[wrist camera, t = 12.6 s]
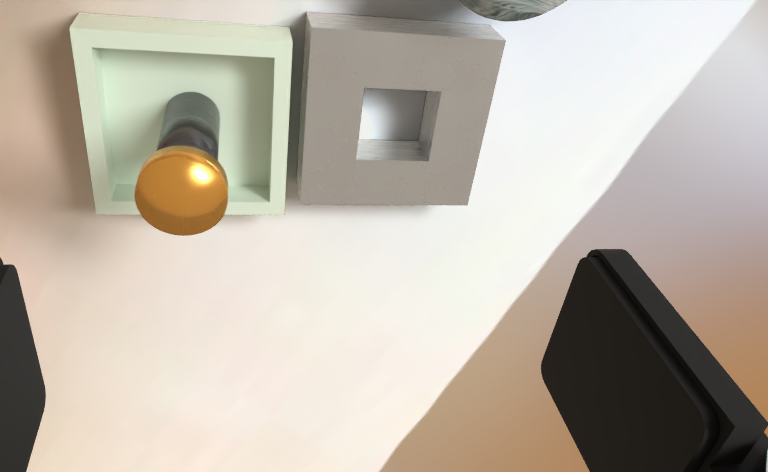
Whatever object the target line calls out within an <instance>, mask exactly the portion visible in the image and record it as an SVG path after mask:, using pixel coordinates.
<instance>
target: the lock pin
mask: <svg viewBox="0 0 768 472" xmlns="http://www.w3.org/2000/svg"><path fill="white" fill-rule="evenodd" d="M219 131H220V113H219V110H218V108H217V106H216V104H215V103H214V102H213V101H212V100H211V99H210V98H209V97H207V96H205V95H203V94H201V93H197V92H183V93H180V94H178V95H176V96H174V97H173V98H172V99H171V100H170V101H169V102H168V104H167V106H166V109H165V113H164V118H163V123H162V127H161V132H160V136H159V141H158V146H157V150H156V152H155V153H153V154H152V155H150V156H149V157H148V158H147V159H146V160H145V162H144V163H143V165H142V167H141V169H140V172H139V175H138V179H137V183H136V187H135V203H136V206H137V209H138V210H139V212H140V214H141V215H142V217H143V218H144V219H145V220H146V221H147V222H148V223H149V224H150V225H152V226H153V227H155V228H157V229H159V230H161V231H163V232H166V233H169V234H174V235H183V236H184V235H194V234H199V233H202V232H204V231H207V230H208V229H210V228H212V227H213V226H215V225H216V224H217V223H218V222H219V221H220V220H221V218H222V217H223V215H224V214H225V211H226V208H227V203H228V179H227V175H226V173H225V170H224V169H223V167H222V166H221V164H220V163H219V162H218V150H219Z"/></svg>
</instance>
